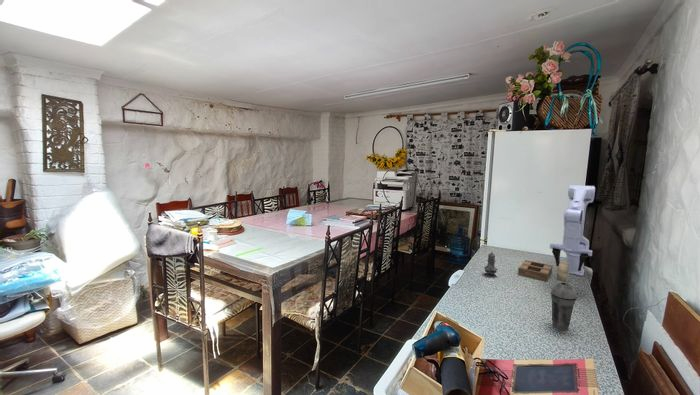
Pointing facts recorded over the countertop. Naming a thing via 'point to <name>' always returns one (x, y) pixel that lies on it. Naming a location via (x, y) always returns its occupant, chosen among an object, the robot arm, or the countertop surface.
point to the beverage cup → (562, 304)
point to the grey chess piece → (490, 266)
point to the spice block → (535, 270)
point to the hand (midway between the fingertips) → (568, 268)
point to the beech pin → (562, 271)
